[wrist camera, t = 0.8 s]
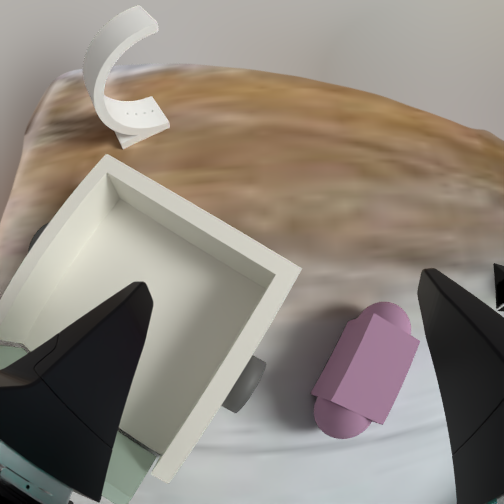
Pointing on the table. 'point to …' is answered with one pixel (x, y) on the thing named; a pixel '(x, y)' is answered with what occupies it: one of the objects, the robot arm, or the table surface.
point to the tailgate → (123, 455)
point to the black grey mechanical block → (499, 286)
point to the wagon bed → (155, 300)
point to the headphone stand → (100, 64)
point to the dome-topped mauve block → (364, 371)
